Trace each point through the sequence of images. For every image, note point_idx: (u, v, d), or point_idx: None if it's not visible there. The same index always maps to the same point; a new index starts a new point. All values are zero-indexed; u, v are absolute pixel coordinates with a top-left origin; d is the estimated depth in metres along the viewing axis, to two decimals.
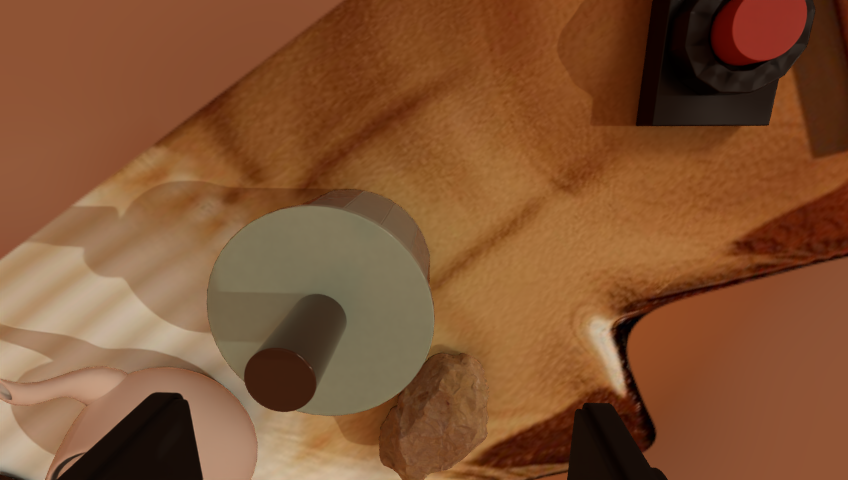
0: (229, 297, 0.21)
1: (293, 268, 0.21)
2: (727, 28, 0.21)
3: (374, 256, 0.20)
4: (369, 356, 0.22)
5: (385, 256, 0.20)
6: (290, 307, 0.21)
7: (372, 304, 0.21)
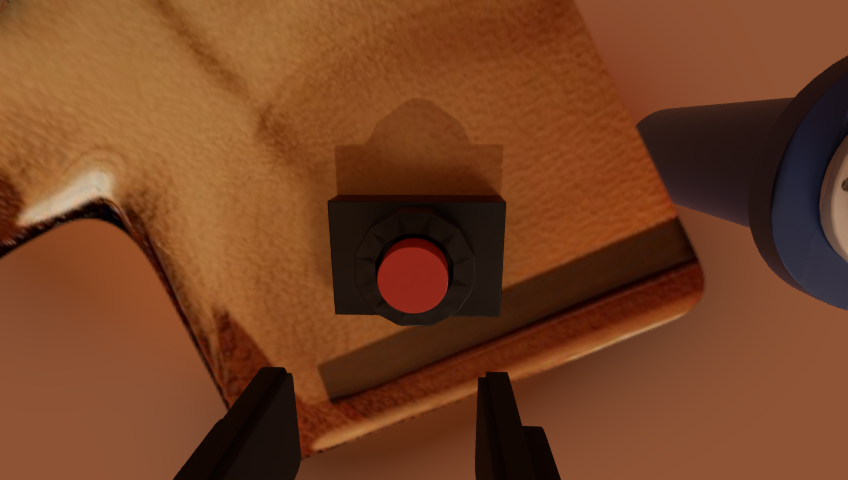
0: None
1: None
2: (409, 245, 0.20)
3: None
4: None
5: None
6: None
7: None
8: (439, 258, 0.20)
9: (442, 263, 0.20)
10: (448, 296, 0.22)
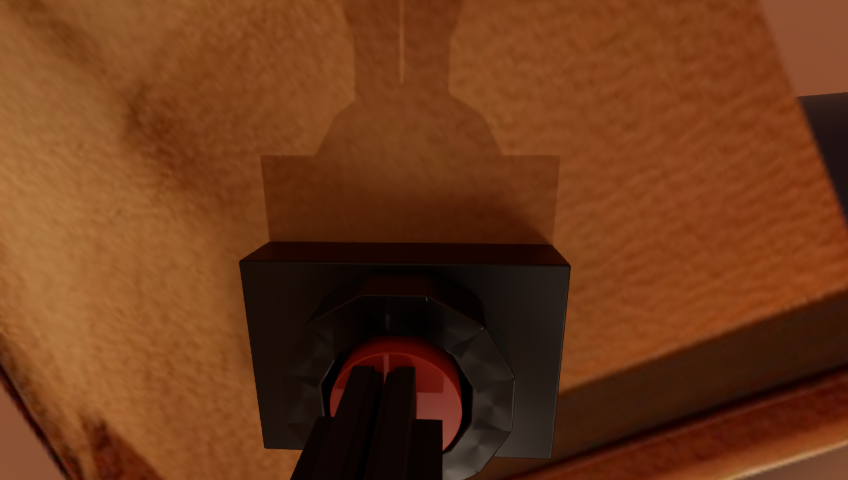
0: None
1: None
2: (388, 345, 0.11)
3: None
4: None
5: None
6: None
7: None
8: (445, 372, 0.10)
9: (451, 382, 0.10)
10: (462, 446, 0.11)
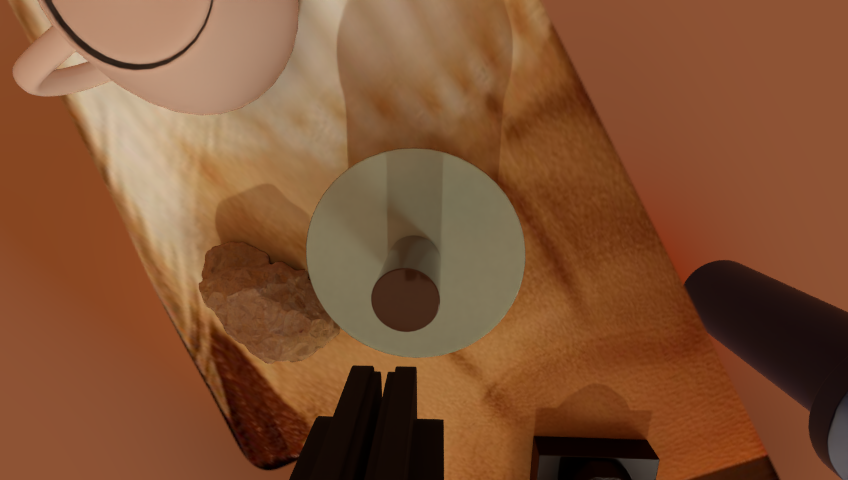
0: (436, 175, 0.21)
1: (466, 241, 0.22)
2: None
3: (476, 312, 0.23)
4: None
5: (476, 321, 0.23)
6: (426, 234, 0.22)
7: None
8: None
9: None
10: None
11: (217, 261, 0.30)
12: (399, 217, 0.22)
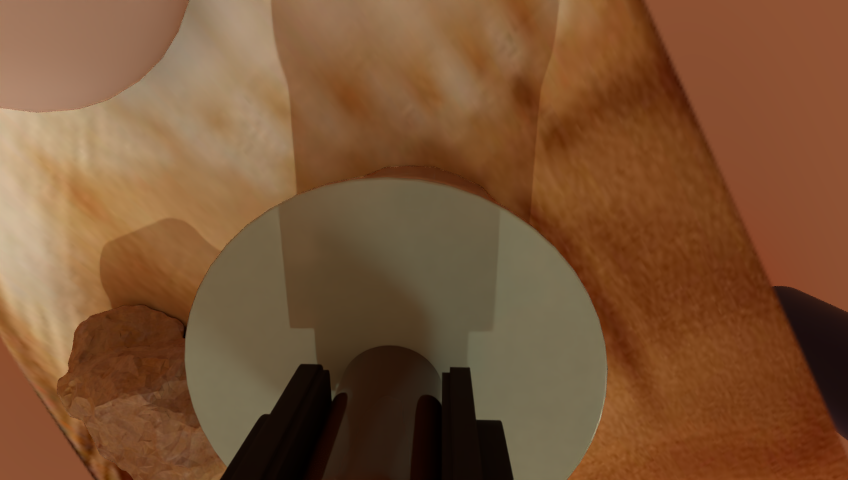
0: (433, 231, 0.10)
1: (492, 357, 0.11)
2: None
3: None
4: None
5: None
6: (414, 344, 0.11)
7: None
8: None
9: None
10: None
11: (92, 341, 0.19)
12: (360, 312, 0.11)
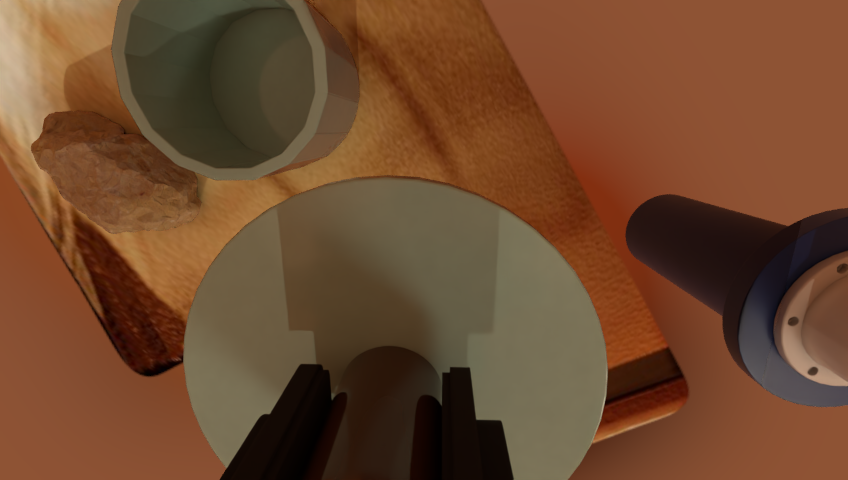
0: (432, 231, 0.10)
1: (492, 357, 0.11)
2: None
3: None
4: None
5: None
6: (413, 344, 0.11)
7: None
8: None
9: None
10: None
11: (56, 124, 0.28)
12: (359, 312, 0.11)
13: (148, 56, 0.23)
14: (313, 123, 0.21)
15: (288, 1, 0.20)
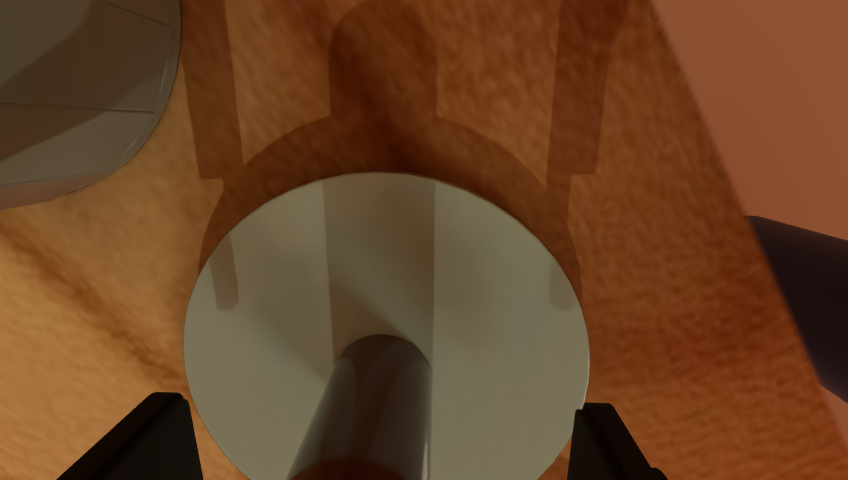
0: (422, 224, 0.11)
1: (480, 345, 0.12)
2: None
3: (497, 463, 0.13)
4: None
5: (496, 477, 0.13)
6: (404, 333, 0.12)
7: None
8: None
9: None
10: None
11: None
12: (352, 302, 0.12)
13: None
14: None
15: None
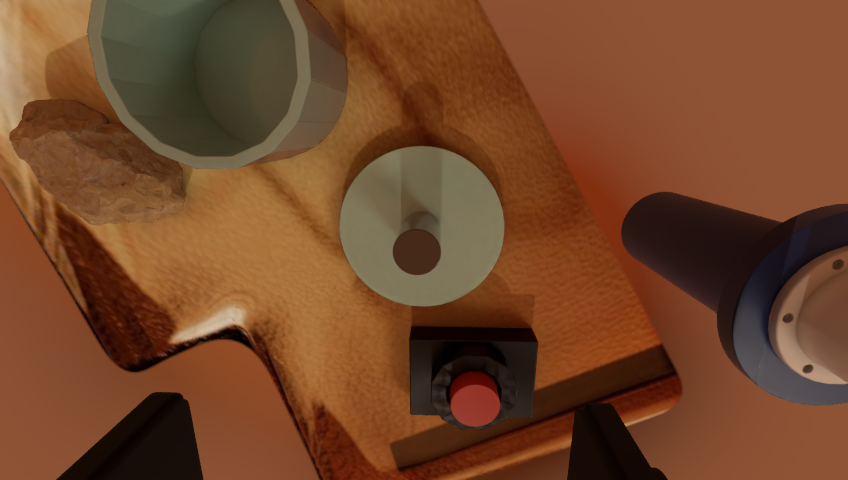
0: (437, 165, 0.29)
1: (460, 215, 0.29)
2: (473, 381, 0.29)
3: (468, 270, 0.31)
4: (392, 263, 0.31)
5: (468, 277, 0.31)
6: (430, 210, 0.29)
7: None
8: (494, 391, 0.29)
9: (496, 395, 0.29)
10: None
11: (36, 112, 0.27)
12: (409, 197, 0.29)
13: (127, 41, 0.22)
14: (296, 110, 0.21)
15: None
